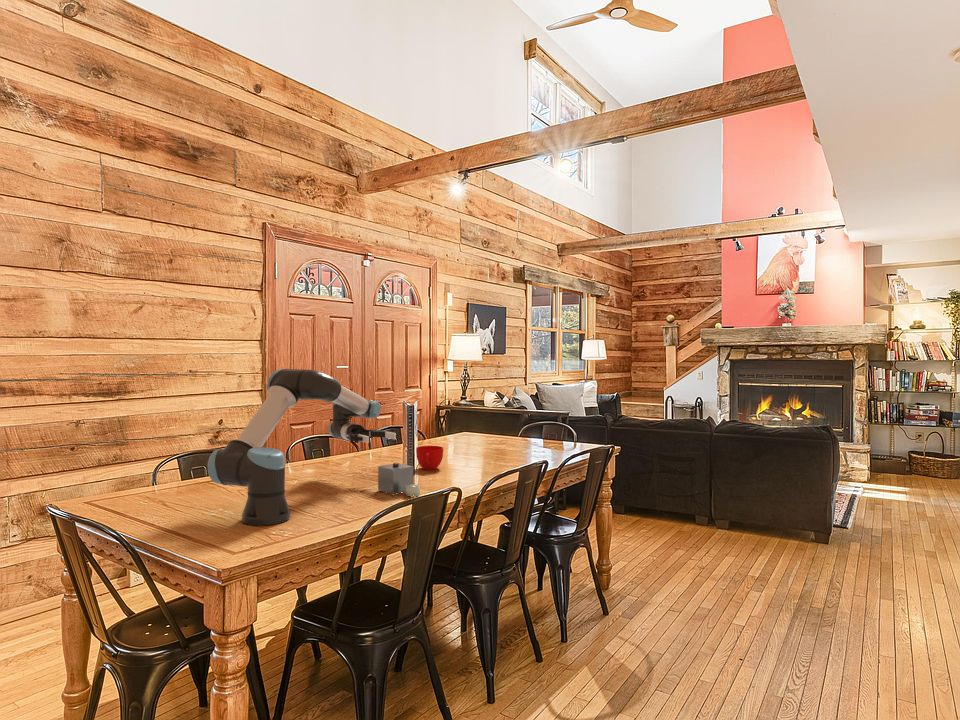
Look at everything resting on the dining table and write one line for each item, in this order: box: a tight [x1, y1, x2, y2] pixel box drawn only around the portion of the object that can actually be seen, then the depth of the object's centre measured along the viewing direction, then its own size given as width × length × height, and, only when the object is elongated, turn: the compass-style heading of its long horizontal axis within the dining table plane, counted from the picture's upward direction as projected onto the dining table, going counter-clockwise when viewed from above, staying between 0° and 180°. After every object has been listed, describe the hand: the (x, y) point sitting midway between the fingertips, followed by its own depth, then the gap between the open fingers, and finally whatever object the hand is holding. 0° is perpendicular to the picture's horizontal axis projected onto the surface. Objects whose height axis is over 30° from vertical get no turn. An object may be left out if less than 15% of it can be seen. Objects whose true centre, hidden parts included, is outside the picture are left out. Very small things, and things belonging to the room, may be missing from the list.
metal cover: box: [377, 462, 414, 494], centre depth 244 cm, size 10×10×11 cm
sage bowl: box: [405, 484, 421, 497], centre depth 236 cm, size 6×6×4 cm
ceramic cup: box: [415, 445, 444, 471], centre depth 288 cm, size 13×17×10 cm
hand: (381, 438), depth 250 cm, fingers open, 13 cm apart
